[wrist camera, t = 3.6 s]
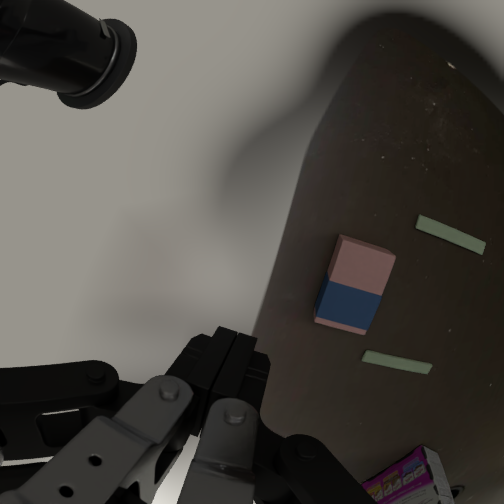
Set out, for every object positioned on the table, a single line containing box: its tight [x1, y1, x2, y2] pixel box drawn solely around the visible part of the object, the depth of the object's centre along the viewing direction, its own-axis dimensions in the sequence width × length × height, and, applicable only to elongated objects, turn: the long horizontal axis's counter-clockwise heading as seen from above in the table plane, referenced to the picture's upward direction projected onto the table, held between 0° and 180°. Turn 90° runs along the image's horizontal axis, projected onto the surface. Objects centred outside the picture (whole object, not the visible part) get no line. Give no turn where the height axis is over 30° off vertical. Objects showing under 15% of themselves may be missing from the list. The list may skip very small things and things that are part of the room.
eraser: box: [314, 234, 396, 335], centre depth 23 cm, size 5×7×3 cm, turn 166°
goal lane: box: [361, 215, 486, 374], centre depth 23 cm, size 8×14×1 cm, turn 166°
